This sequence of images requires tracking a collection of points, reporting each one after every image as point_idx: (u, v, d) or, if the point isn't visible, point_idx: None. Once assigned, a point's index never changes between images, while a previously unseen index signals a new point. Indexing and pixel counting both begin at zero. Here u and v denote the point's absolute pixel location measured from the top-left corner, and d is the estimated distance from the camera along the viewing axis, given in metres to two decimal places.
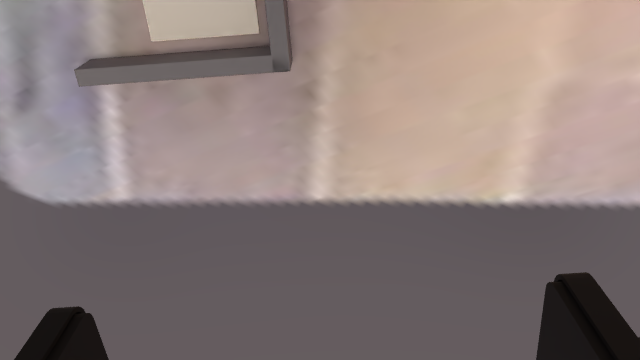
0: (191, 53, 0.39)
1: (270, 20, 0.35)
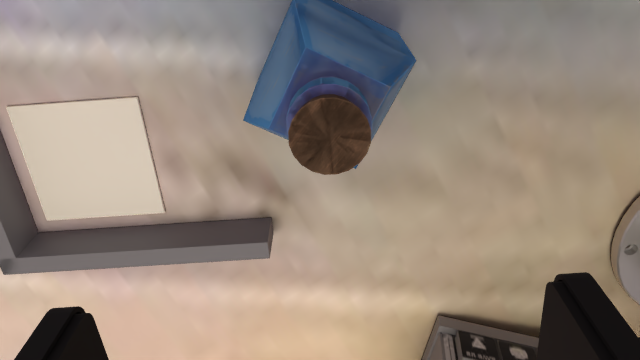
0: (2, 154, 0.33)
1: (53, 258, 0.33)
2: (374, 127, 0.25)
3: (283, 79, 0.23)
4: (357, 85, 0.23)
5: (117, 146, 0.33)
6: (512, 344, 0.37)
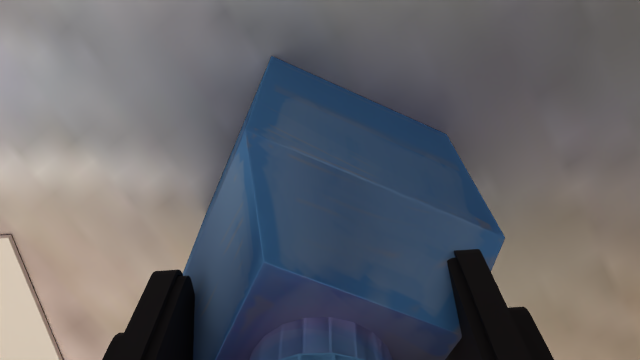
0: None
1: None
2: None
3: (220, 307, 0.10)
4: (387, 332, 0.10)
5: None
6: None
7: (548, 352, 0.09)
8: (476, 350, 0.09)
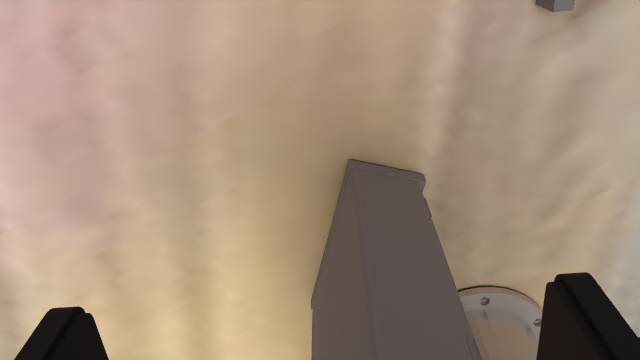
0: None
1: None
2: None
3: None
4: None
5: None
6: None
7: None
8: None
